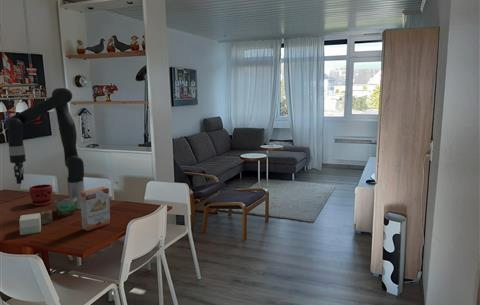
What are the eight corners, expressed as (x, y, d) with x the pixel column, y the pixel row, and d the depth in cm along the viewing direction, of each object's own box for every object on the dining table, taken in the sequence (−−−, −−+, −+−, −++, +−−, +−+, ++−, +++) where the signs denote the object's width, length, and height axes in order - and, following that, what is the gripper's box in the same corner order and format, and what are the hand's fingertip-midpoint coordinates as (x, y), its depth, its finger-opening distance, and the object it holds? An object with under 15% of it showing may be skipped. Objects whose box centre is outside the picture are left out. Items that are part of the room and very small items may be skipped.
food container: (55, 218, 210) (54, 201, 208) (55, 215, 215) (53, 199, 213) (78, 215, 215) (77, 199, 214) (77, 212, 221) (76, 196, 219)
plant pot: (57, 202, 239) (56, 185, 238) (37, 208, 228) (35, 189, 227) (46, 199, 246) (45, 182, 244) (26, 204, 235) (25, 186, 233)
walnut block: (52, 220, 207) (51, 210, 206) (52, 222, 203) (51, 212, 202) (42, 221, 205) (41, 211, 204) (41, 224, 200) (41, 213, 200)
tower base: (41, 227, 197) (40, 220, 196) (40, 232, 189) (39, 225, 188) (22, 229, 193) (21, 222, 192) (20, 235, 185) (19, 228, 184)
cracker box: (88, 231, 190) (85, 193, 186) (81, 229, 193) (79, 191, 190) (111, 224, 201) (109, 187, 198) (104, 221, 205) (102, 186, 201)
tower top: (40, 220, 196) (40, 213, 196) (39, 225, 188) (39, 218, 188) (21, 222, 192) (21, 215, 192) (20, 228, 184) (19, 220, 184)
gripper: (23, 155, 196) (26, 184, 199) (26, 151, 209) (29, 178, 212) (6, 156, 193) (10, 185, 196) (11, 152, 206) (14, 179, 209)
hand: (20, 181), depth 204 cm, fingers open, 8 cm apart
